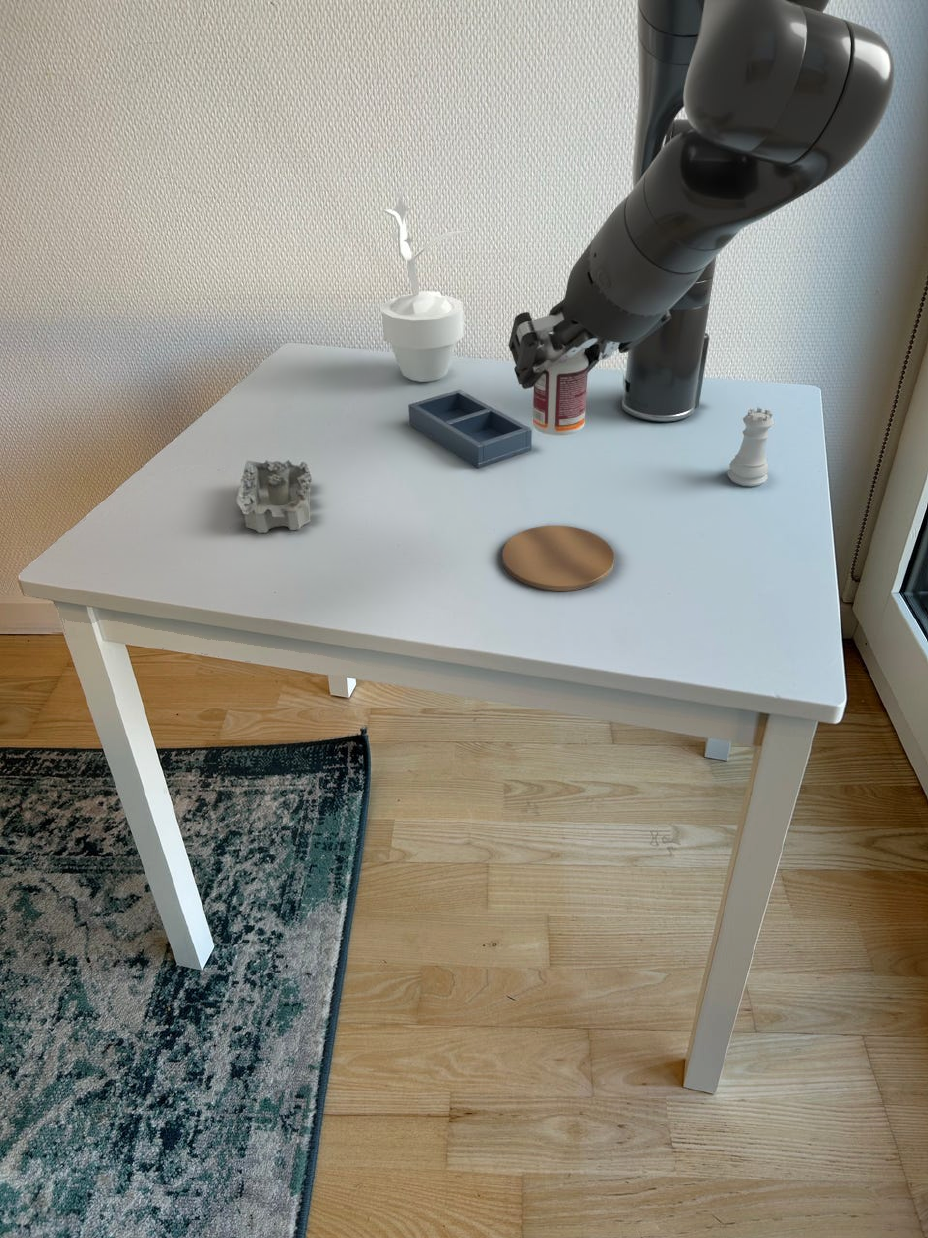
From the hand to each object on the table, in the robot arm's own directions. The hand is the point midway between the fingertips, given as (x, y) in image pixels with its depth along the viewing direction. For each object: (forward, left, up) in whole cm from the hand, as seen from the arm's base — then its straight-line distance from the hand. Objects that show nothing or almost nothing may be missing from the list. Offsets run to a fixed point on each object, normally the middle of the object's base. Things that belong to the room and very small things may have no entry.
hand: (549, 372), depth 77 cm
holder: (-8, -24, -18) cm, 31 cm away
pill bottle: (0, +2, -5) cm, 5 cm away
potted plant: (-15, -45, -18) cm, 51 cm away
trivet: (+1, +4, -18) cm, 18 cm away
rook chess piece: (-27, +4, -18) cm, 33 cm away
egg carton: (+19, -22, -18) cm, 34 cm away
